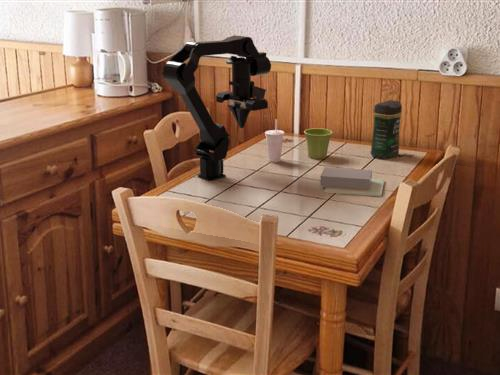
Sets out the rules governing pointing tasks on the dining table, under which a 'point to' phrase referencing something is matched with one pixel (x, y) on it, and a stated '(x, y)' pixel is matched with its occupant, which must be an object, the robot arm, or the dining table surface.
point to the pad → (374, 190)
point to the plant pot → (317, 142)
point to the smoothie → (274, 143)
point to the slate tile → (346, 178)
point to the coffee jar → (386, 129)
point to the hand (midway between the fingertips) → (241, 127)
